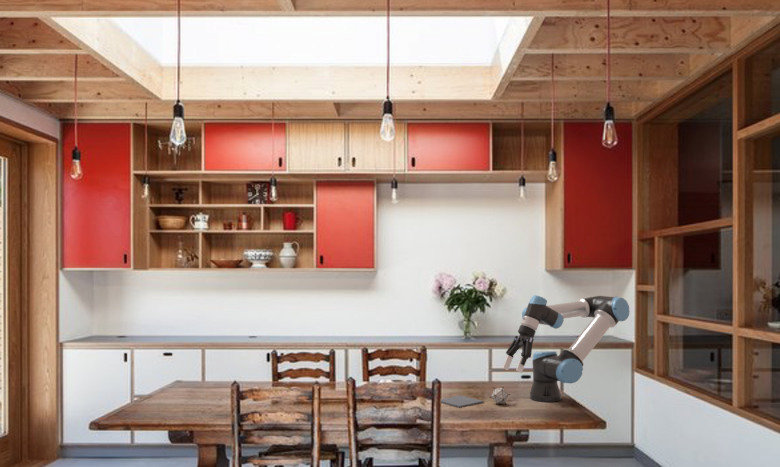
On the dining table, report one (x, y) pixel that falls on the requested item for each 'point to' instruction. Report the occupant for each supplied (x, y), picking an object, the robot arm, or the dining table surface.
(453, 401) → the mat
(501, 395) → the game die
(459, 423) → the dining table surface
